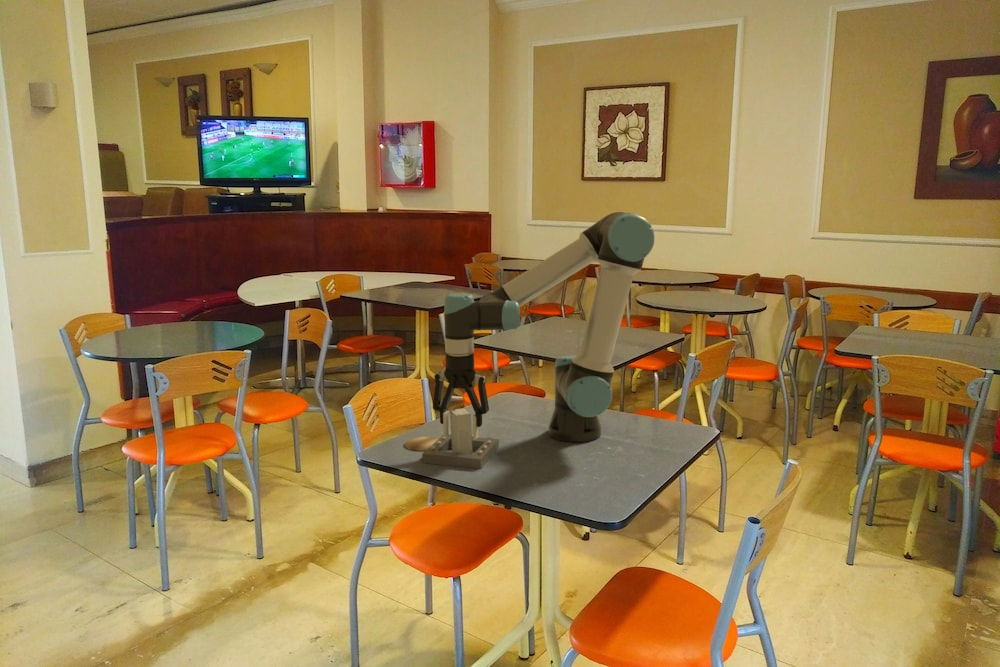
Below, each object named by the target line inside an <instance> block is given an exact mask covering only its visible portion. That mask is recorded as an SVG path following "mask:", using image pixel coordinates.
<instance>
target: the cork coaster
mask: <svg viewBox="0 0 1000 667" xmlns="http://www.w3.org/2000/svg"><path fill="white" fill-rule="evenodd" d="M438 439H439V438H437V437H433V436H419V437H413V438H410V439H408V440H406V441H405V444H404V445H405V448H406V449H408V450H410V451H416V452H425V451H426V450H427V449H428V448H429V447H430V446H431V445H432V444H434V443H435V442H436V441H437V440H438Z"/></svg>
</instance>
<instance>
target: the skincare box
mask: <svg viewBox="0 0 1000 667" xmlns="http://www.w3.org/2000/svg"><path fill="white" fill-rule="evenodd" d="M449 421H450V435H451V439H452V447H451V452H455V453H466V454H474V453H473V449H472V437H473V430H472V414H471V413H470V412H469V411H467V410H466V409H465V408H456V409H450V410H449Z"/></svg>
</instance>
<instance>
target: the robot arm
mask: <svg viewBox="0 0 1000 667" xmlns="http://www.w3.org/2000/svg"><path fill="white" fill-rule="evenodd" d="M654 244H655V231H654V228H653V227H652V225H651V223H650V222H649V221H648V220H647V219H646V218H645V217H643V216H641V215H639V214H636V213H633V212H624V211H623V212H622V211H620V212H618V211H616V212H612V213H609V214H607V215H605V216H603V217H602V218H601V219H600V220H598V221H597V222H595V223H594V224H592V225H591V226H590V227H588V228H587V229H585V230H583V231H581V232H580V234H579V236H578V239H576V240H574V241H573V242H571V243H569V244H568V245H566V246H565V247H563V248H561V249H560V250H558V251H557V252H555V253H553V254H552V255H550V256H548V257H547V258H545V259H543V260H542V261H541V262H539V263H537V264H535V265H534V266H532V267H531V268H529V269H528V270H526V271H524V272H522V273H521V274H519V275H518V276H516V277H514V278H513V279H511V280H509V281H508V282H506V283H505V284H503V285H502V286H501V287H498V288H496V289H495V290H494V291H490V292H486V293H485V294H483V295H482V296H481V297H480V299H479V300H478V301H475V300H474V296H473V294H470V293H466V292H465V293H462V292H461V293H459V292H458V293H450V294H448V295H446V296H445V298H444V309H443V310H444V312H443V313H444V317H443V318H444V344H445V345H444V349H445V350H444V351H445V353H446V354H445V355H444V356H445V357H444V358H445V371H444V372H441V371H439V372H437V373H436V374H434V382H435V387H434V393H433V395H434V396H433V400H432V401H433V402H432V409H433V410H434V411H437V412H438V413H439V423H440V424H441V425H443V426H442V427H443V435H444V437H447V436H448V435H451V421H450V410H447V409H448V406H449V404H450V401H451V399H452V396H453V394H454V391H455V389H461V390H462V389H463V390H465V393H466V394H467V396H468V399H469V401H470V403H471V406H472V409H473V411H474V414H472V437H473V440H476V439H477V438H478V437H480V428H481V426H483V415H485V414H487V413H488V412H489V411H490V407H489V400H488V395H487V394H488V393H487V388H486V381H487V380H486V379H487V376H486V375H484V374H483V375H480V374H477V373H476V371H475V354H474V352H475V331H508V330H517V329H519V327H520V323H521V311H520V310H521V308H520V307H522V306H524V305H526V303H529V302H531V301H533V300H534V299H535V298H536V297H539V296H540V295H541V294H544V293H545V292H546V291H548V290H550V289H552V288H553V287H555V286H556V285H558V284H559V283H561V282H563V281H565V280H566V279H568V278H570V277H571V276H572V275H574V274H576V273H577V272H579V271H580V270H582V269H584V268H587V266H590V264H592V263H597V264H599V266H600V267H601V268H600V272H599V276H598V280H597V284H596V287H595V292H594V296H593V300H592V302H591V307H590V310H589V313H588V314H589V315H588V317H587V318H588V319H587V322H586V324H585V325H586V326H585V330H584V333H583V338H582V340H581V344H580V348H579V353H578V355H575V354H573V355H562V356H558V357H557V358H556V359H555V363H554V364H555V365H554V409H553V412H552V415H551V418H550V421H549V424H548V435H549V436H550V437H551V438H553V439H555V440H558V441H561V442H562V441H563V442H570V443H582V442H590V441H594V440H597V439H599V438H600V437H601V435H602V425H601V422H600V419H599V416H601V415H602V414H603V413H605V412H606V410H608V408H609V407H610V406H611V404H612V400H613V389H612V387H611V384H612V381H613V376H614V373H615V369H614V367H613V365H612V363H611V362H612V357H613V354H614V350H615V348H616V347H615V346H616V343H617V339H618V336H619V332H620V328H621V325H622V320H623V317H624V314H625V309H626V305H627V301H628V298H629V294H630V291H631V286H632V282H633V279H634V276H635V275H636V274H638V273H640V272H641V271H642V268H643V264H644V262H645V258H646V257H647V256H648V255H650V253H651V251H652V249H653V247H654ZM445 379H446V380H447V382H448V385H447V388H446V392H445V395H444V397H443V399H442V393H443V388H444V387H443V386H444V380H445ZM474 381H476V384H477V388H478V394H479V395H478V396H479V398H478V396H477V394H476V391H475V387H474V385H473V382H474ZM479 401H480V402H479Z"/></svg>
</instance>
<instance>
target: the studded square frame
mask: <svg viewBox="0 0 1000 667" xmlns="http://www.w3.org/2000/svg"><path fill="white" fill-rule="evenodd" d="M499 440H500V439H499V438H492V437H491V438H489V437H481V436H479V437H478V438H477V439H476V440H473V436H472V450H476V451H475V452H474V453H473V454H466V453H455V452H452V451H448V450H449V449H450V448H452V439H451V434H449V435H448V436H447V437H444V434H443V435H441V436H440V437H439V438H438V440H437V441H436V442H435V443H434V444H432V445H431V446H430V447H429V448H428V449H427V450H426V451H423V452H422V463H423V464H430V465H431V464H432V465H440V466H442V465H443V466H451V467H463V468H471V469H482V468H483V467H484V466H485V464H486V463H487V462H488V461H489V460H490V459H491V457H493V455H494V454H495V453H496V452H497V450H499V448H500V445H499V444H500V442H499Z"/></svg>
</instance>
